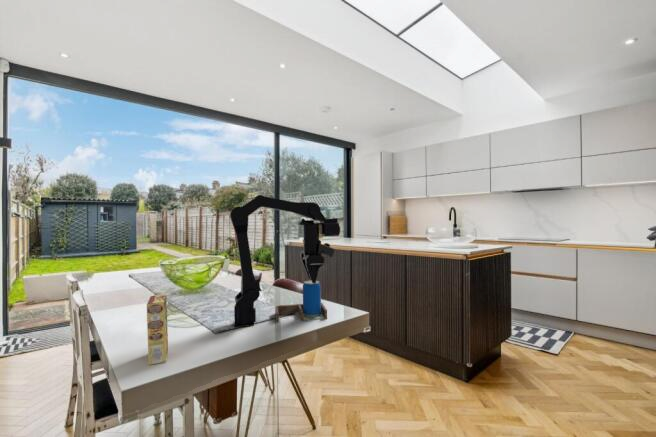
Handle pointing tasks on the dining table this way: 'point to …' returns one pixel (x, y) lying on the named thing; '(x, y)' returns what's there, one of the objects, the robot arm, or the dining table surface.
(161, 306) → the candy box
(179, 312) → the dining table surface
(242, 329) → the dining table surface
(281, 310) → the slot rack
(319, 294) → the beverage can
